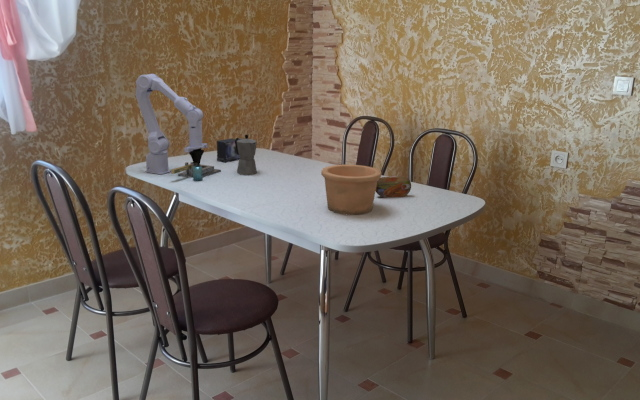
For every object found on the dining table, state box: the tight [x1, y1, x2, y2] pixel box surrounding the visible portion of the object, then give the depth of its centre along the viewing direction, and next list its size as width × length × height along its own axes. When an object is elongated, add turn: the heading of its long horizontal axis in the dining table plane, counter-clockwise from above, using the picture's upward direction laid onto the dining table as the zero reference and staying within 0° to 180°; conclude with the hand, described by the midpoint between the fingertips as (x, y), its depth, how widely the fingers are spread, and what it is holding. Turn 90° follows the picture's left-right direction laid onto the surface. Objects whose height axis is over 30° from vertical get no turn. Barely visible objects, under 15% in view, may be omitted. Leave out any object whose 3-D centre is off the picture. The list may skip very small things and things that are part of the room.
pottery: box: [320, 164, 382, 216], centre depth 201 cm, size 22×22×14 cm
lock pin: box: [170, 161, 198, 175], centre depth 239 cm, size 3×16×2 cm, turn 156°
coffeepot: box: [235, 134, 258, 176], centre depth 252 cm, size 15×9×18 cm, turn 44°
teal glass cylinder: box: [192, 166, 204, 182], centre depth 237 cm, size 4×4×6 cm
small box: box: [216, 138, 240, 163], centre depth 278 cm, size 11×6×10 cm, turn 143°
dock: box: [177, 161, 222, 178], centre depth 250 cm, size 12×16×6 cm
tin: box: [375, 175, 412, 199], centre depth 219 cm, size 15×3×8 cm, turn 105°
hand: (196, 165), depth 247 cm, fingers closed
